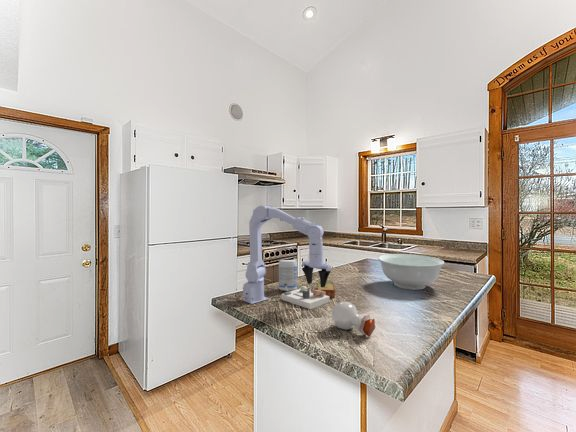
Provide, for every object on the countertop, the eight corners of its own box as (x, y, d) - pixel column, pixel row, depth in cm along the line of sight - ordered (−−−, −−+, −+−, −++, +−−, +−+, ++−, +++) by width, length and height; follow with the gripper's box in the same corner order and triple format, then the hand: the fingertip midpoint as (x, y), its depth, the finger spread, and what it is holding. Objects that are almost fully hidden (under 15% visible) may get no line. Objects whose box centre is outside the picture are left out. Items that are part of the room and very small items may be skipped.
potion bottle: (334, 326, 106) (370, 345, 95) (322, 317, 100) (358, 336, 89) (345, 303, 109) (381, 319, 98) (333, 293, 103) (370, 309, 92)
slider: (305, 298, 125) (305, 291, 125) (302, 297, 127) (302, 290, 127) (309, 297, 127) (309, 290, 127) (306, 296, 128) (306, 289, 128)
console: (310, 309, 120) (309, 298, 120) (281, 299, 133) (281, 290, 133) (329, 301, 129) (329, 292, 129) (301, 293, 142) (300, 284, 142)
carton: (317, 298, 135) (317, 289, 135) (317, 288, 151) (317, 280, 151) (335, 298, 134) (335, 289, 134) (333, 288, 150) (333, 280, 150)
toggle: (287, 291, 132) (285, 283, 133) (285, 291, 133) (283, 283, 134) (289, 290, 133) (287, 282, 134) (287, 290, 134) (285, 283, 135)
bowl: (457, 295, 137) (458, 264, 136) (389, 295, 137) (389, 265, 137) (426, 277, 169) (426, 253, 168) (371, 278, 169) (371, 253, 169)
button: (303, 292, 135) (303, 287, 134) (299, 290, 137) (299, 286, 137) (307, 290, 136) (307, 286, 136) (303, 289, 138) (303, 285, 138)
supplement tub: (298, 291, 143) (298, 261, 144) (279, 291, 141) (280, 261, 143) (295, 287, 152) (295, 259, 153) (277, 288, 151) (278, 259, 152)
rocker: (316, 294, 126) (317, 290, 126) (310, 292, 129) (311, 289, 129) (325, 294, 130) (325, 291, 130) (319, 293, 133) (319, 289, 133)
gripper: (335, 254, 119) (335, 286, 120) (309, 250, 130) (310, 280, 130) (324, 256, 115) (324, 290, 115) (298, 252, 125) (299, 283, 126)
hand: (316, 285), depth 122 cm, fingers open, 7 cm apart
